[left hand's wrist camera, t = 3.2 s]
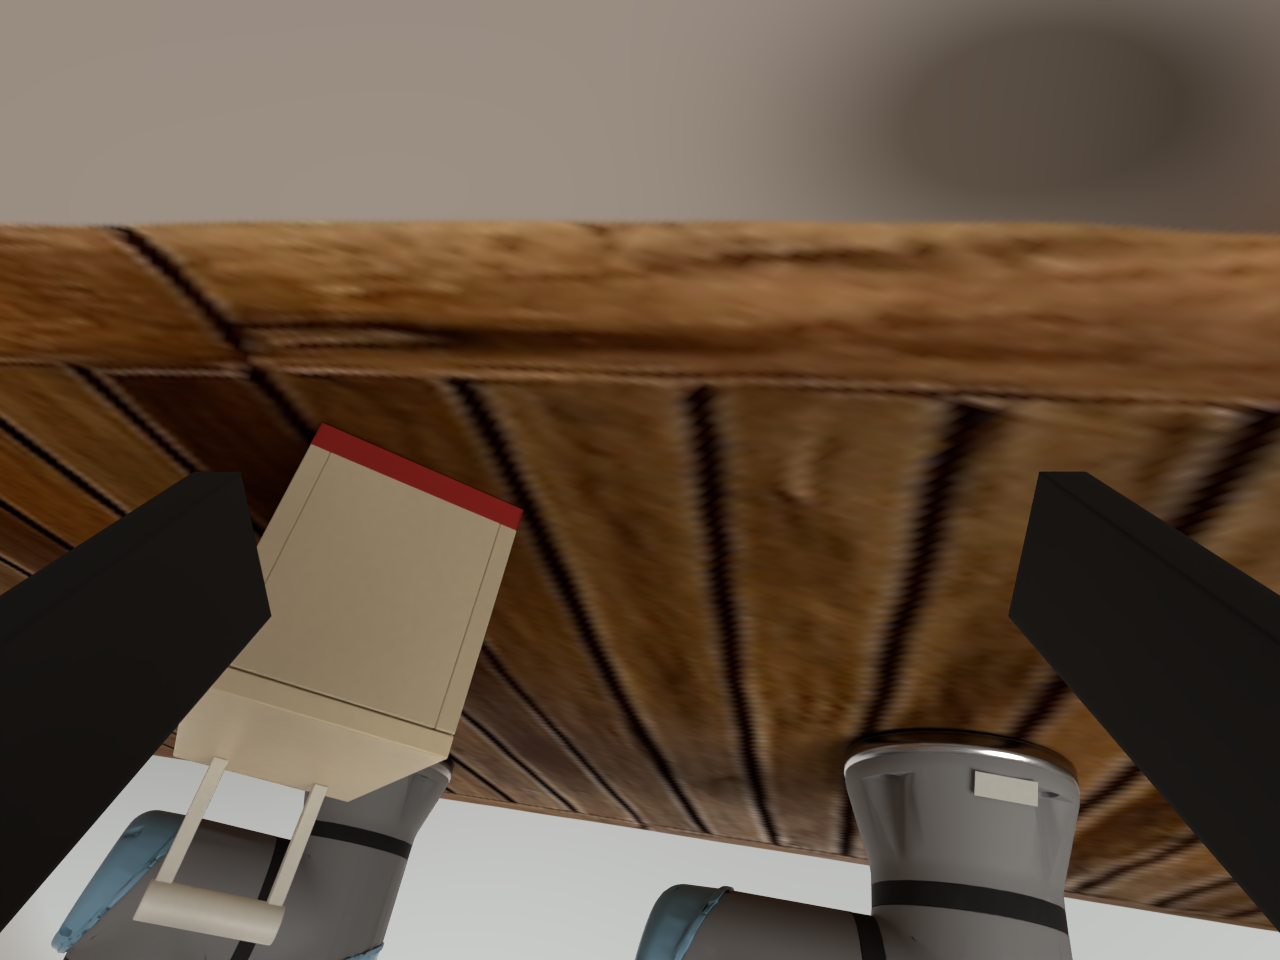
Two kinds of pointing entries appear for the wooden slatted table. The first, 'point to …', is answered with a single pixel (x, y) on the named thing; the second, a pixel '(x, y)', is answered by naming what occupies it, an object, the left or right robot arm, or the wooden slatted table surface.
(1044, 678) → the wooden slatted table surface
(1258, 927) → the wooden slatted table surface
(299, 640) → the chest
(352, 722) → the lid
